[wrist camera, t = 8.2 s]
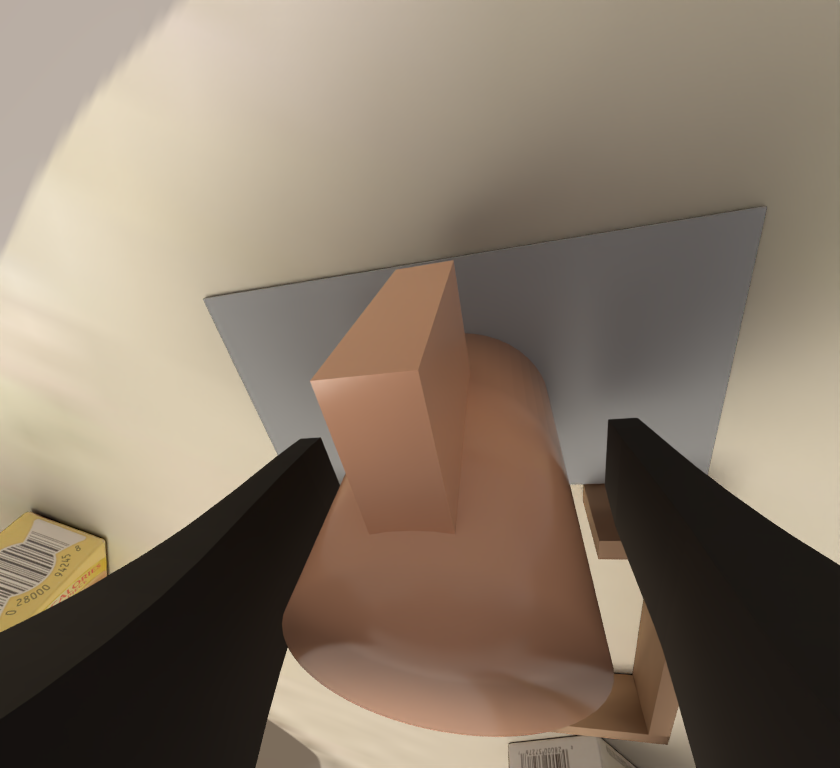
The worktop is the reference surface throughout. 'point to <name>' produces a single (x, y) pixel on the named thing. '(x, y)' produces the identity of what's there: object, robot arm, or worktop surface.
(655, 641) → the jug holder
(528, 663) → the jug
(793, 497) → the worktop surface
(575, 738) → the coffee box
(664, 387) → the mat
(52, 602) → the candy box
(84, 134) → the worktop surface
